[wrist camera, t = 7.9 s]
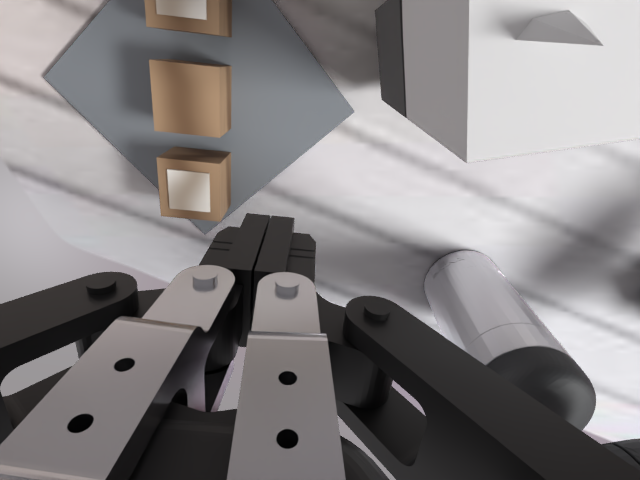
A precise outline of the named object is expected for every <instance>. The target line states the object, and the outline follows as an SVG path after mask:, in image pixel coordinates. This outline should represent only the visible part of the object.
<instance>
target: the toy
mask: <svg viewBox="0 0 640 480" xmlns="http://www.w3.org/2000/svg"><path fill="white" fill-rule="evenodd" d="M375 16H376V30H377V43H378V57H379V71H380V84H381V98H382V100H383V101H384V102H386V103H387V104H388V105H390V106H391V107H392V108H394V109H395V110H396V111H398V112H399V113H400V114H402V115H403V116H404V117H406V118H407V119H408V120H410V121H411V122H412V123H414V124H415V125H416V126H418V127H419V128H420V129H422V130H423V131H424V132H426V133H427V134H428V135H430V136H431V137H432V138H434V139H435V140H436V141H438V142H439V143H440V144H442V145H443V146H444V147H446V148H447V149H448V150H450V151H451V152H452V153H454V154H455V155H456V156H458V157H459V158H460V159H462V160H463V161H464V162H466V163H472V162H479V161H486V160H494V159H501V158H508V157H515V156H522V155H529V154H537V153H544V152H551V151H558V150H565V149H572V148H580V147H587V146H594V145H601V144H608V143H615V142H623V141H630V140H637V139H640V0H387V1H386V2H385V3H384V4H383V5H381V6H380V7H379V8H378V9H377V10H375Z"/></svg>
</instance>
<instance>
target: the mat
mask: <svg viewBox="0 0 640 480" xmlns="http://www.w3.org/2000/svg"><path fill="white" fill-rule="evenodd" d="M149 59H174V60H183V61H192V62H201V63H210V64H219V65H227V66H232V85H231V129H230V130H229V131H228V132H226V133H225V134H224V135H223V136H221V137H220V138H217V137H208V136H198V135H189V134H179V133H170V132H160V131H154V119H153V106H152V93H151V80H150V67H149ZM44 78H45V79H46V80H47V81H48V82H49V83H50V84H51V85H52V86H53V87H54V88H55V89H56V90H57V91H58V92H59V93H60V94H61V95H62V96H63V97H64V98H65V99H66V100H67V101H68V102H69V103H70V104H71V105H72V106H73V107H74V108H75V109H76V110H77V111H78V112H80V113H81V114H82V115H83V116H84V117H85V118H86V119H87V120H88V121H89V122H90V123H91V124H92V125H93V126H94V127H95V128H96V129H97V130H98V131H99V132H100V133H101V134H102V135H103V136H104V137H105V138H106V139H107V140H108V141H109V142H110V143H111V144H112V145H113V146H114V147H116V148H117V149H118V150H119V151H120V152H121V153H122V154H123V155H124V156H125V157H126V158H127V159H128V160H129V161H130V162H131V163H132V164H133V165H134V166H135V167H136V168H137V169H138V170H139V171H140V172H141V173H142V174H143V175H144V176H145V177H146V178H147V179H148V180H149V181H150V182H152V183H153V184H154V185H155V186H156V187H157V188H158V189H159V184H158V171H157V157H158V156H160V155H161V154H163V153H165V152H166V151H168V150H169V149H171V148H173V147H174V146H176V147H186V148H195V149H205V150H214V151H224V152H231V205H230V207H229V208H228V210H227V212H226V213H225V215H224V217H223V218H222V220H223V219H225V218H226V217H227V216H228V215H229V214H231V213H232V212H233V211H234V210H236V209H237V208H238V207H239V206H240V205H242V204H243V203H244V202H245V201H247V200H248V199H249V198H250V197H251V196H253V195H254V194H255V193H256V192H257V191H259V190H260V189H261V188H262V187H264V186H265V185H266V184H267V183H268V182H270V181H271V180H272V179H273V178H275V177H276V176H277V175H278V174H279V173H281V172H282V171H283V170H284V169H285V168H287V167H288V166H289V165H290V164H292V163H293V162H294V161H295V160H296V159H298V158H299V157H300V156H301V155H303V154H304V153H305V152H306V151H307V150H309V149H310V148H311V147H312V146H314V145H315V144H316V143H317V142H318V141H320V140H321V139H322V138H323V137H324V136H326V135H327V134H328V133H329V132H331V131H332V130H333V129H334V128H335V127H337V126H338V125H339V124H340V123H342V122H343V121H344V120H345V119H346V118H348V117H349V116H350V115H351V114H352V113H354V110H353V109H352V108H351V106H350V105H349V104H348V102H347V101H346V99H345V98H344V97H343V95H342V94H341V93H340V91H339V90H338V89H337V87H336V86H335V85H334V83H333V82H332V81H331V79H330V78H329V77H328V75H327V74H326V72H325V71H324V70H323V68H322V67H321V66H320V64H319V63H318V62H317V60H316V59H315V58H314V56H313V55H312V54H311V52H310V51H309V49H308V48H307V47H306V45H305V44H304V43H303V41H302V40H301V39H300V37H299V36H298V35H297V33H296V32H295V31H294V29H293V28H292V27H291V25H290V24H289V22H288V21H287V20H286V18H285V17H284V16H283V14H282V13H281V12H280V10H279V9H278V8H277V6H276V5H275V4H274V2H273V1H272V0H232V37H223V36H215V35H206V34H197V33H189V32H180V31H172V30H164V29H158V28H152V27H146V15H145V1H144V0H110V1H109V2H108V3H107V4H106V5H105V6H104V8H103V9H102V10H101V11H100V12H99V13H98V15H97V16H96V17H95V18H94V19H93V20H92V22H91V23H90V24H89V25H88V26H87V27H86V29H85V30H84V31H83V32H82V33H81V35H80V36H79V37H78V38H77V39H76V40H75V42H74V43H73V44H72V45H71V46H70V47H69V49H68V50H67V51H66V52H65V53H64V54H63V56H62V57H61V58H60V59H59V60H58V61H57V63H56V64H55V65H54V66H53V67H52V68H51V70H50V71H49V72H48V73H47V74H46V76H45V77H44ZM190 220H191V221H192V222H193V223H194V224H195V225H196V226H197V227H198V228H199V229H200V230H201V231H202V232H203V233H204V234H206V233H208V232H209V231H210V230H211V229H212V228H214V227H215V226H216V225H217V224H218V223H220V222H218V221H208V220H197V219H190ZM222 220H221V221H222Z"/></svg>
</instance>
